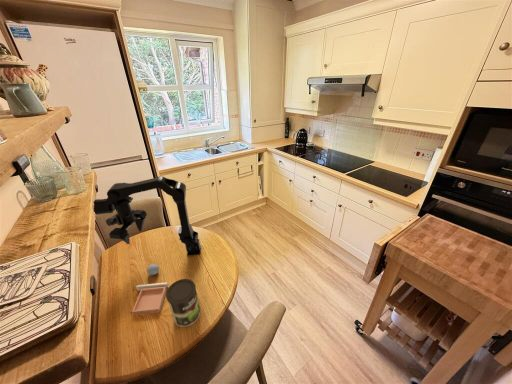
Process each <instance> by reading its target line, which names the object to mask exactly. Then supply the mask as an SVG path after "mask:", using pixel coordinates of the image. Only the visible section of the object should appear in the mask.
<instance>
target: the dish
mask: <svg viewBox="0 0 512 384" xmlns="http://www.w3.org/2000/svg"><path fill="white" fill-rule="evenodd" d="M167 290H168V288H166V287H156V288H146V289H141V290H140V291H139V294H138V295H137V299H136V301H135V304H134V306H133V309H132V311H131V313H132V315H133V316H136V315H138V316H139V315H148V314H155V313H160V312H161V310H162V307H163V303H164V300H165V298H166V292H167Z"/></svg>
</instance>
